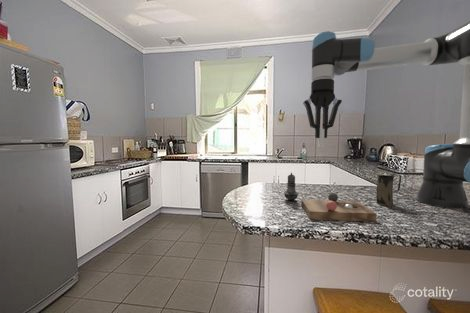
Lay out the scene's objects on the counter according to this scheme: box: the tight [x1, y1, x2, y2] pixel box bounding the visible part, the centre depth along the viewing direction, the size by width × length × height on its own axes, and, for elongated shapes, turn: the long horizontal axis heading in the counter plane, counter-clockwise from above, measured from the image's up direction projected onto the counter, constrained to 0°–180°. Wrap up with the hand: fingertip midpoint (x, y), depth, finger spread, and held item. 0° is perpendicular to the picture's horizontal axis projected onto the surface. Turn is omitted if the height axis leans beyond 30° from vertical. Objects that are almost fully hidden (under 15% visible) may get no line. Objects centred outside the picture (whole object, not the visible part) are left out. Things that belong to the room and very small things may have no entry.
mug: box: [375, 173, 402, 207], centre depth 87 cm, size 8×6×12 cm
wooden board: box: [300, 199, 378, 222], centre depth 77 cm, size 20×14×2 cm
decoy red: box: [326, 201, 337, 211], centre depth 72 cm, size 3×3×3 cm
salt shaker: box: [283, 172, 299, 204], centre depth 91 cm, size 6×6×12 cm
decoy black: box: [328, 192, 339, 202], centre depth 82 cm, size 3×3×3 cm
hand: (320, 147), depth 81 cm, fingers closed
